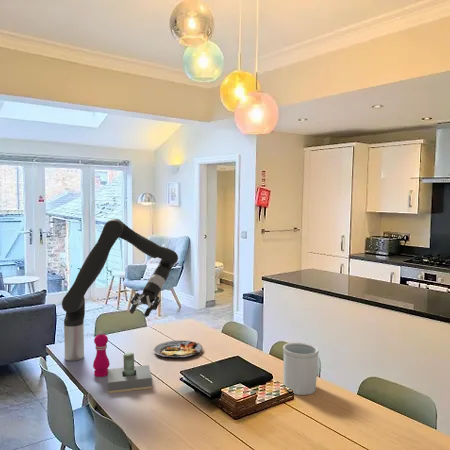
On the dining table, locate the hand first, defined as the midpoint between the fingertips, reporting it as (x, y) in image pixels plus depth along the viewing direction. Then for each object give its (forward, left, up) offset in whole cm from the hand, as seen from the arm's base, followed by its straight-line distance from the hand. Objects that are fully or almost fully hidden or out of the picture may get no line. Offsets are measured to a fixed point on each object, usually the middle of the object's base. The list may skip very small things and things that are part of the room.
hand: (138, 314), depth 193 cm
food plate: (-19, +22, -27) cm, 40 cm away
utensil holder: (+36, +65, -27) cm, 79 cm away
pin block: (+13, -5, -27) cm, 30 cm away
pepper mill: (-1, -17, -27) cm, 32 cm away
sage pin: (+12, -5, -26) cm, 29 cm away
